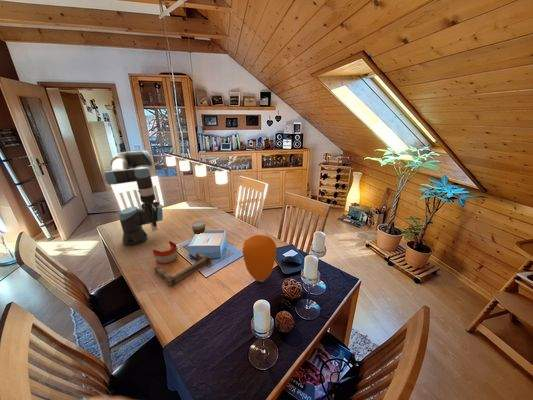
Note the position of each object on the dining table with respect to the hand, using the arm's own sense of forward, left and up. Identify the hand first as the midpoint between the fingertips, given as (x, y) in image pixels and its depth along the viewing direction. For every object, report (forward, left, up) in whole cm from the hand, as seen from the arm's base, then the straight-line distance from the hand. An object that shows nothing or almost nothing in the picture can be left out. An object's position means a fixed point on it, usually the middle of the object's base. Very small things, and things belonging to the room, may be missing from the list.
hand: (155, 230), depth 138 cm
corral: (+25, 0, -16) cm, 30 cm away
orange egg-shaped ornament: (+67, +19, -16) cm, 71 cm away
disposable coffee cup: (+7, +26, -16) cm, 32 cm away
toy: (+11, 0, -17) cm, 20 cm away
